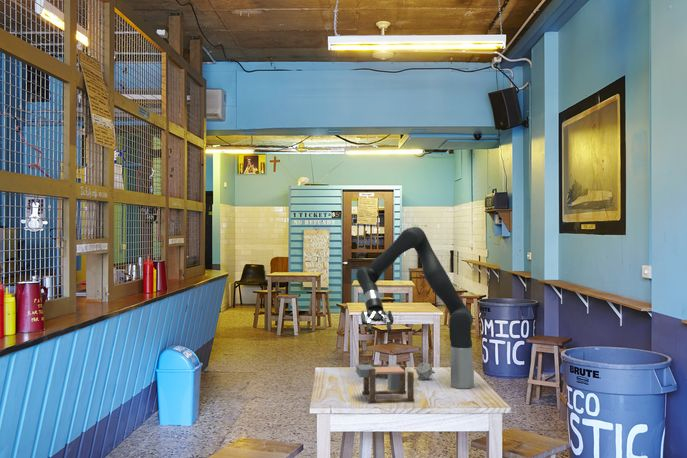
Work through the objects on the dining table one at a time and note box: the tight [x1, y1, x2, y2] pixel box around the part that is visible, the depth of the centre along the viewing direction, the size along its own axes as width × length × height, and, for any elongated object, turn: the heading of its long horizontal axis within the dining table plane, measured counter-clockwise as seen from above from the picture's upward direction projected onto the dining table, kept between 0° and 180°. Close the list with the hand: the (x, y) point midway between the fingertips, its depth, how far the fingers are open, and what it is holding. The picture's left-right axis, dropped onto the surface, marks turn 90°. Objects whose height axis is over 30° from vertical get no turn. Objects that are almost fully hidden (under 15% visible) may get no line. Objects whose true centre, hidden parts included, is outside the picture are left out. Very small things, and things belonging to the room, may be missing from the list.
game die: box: [413, 360, 436, 381], centre depth 280 cm, size 9×8×10 cm
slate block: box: [387, 364, 400, 391], centre depth 259 cm, size 5×5×10 cm
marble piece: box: [371, 364, 388, 380], centre depth 289 cm, size 17×15×4 cm
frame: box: [361, 361, 415, 404], centre depth 246 cm, size 18×15×13 cm
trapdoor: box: [355, 363, 406, 378], centre depth 245 cm, size 18×11×3 cm, turn 98°
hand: (380, 331), depth 268 cm, fingers open, 8 cm apart
